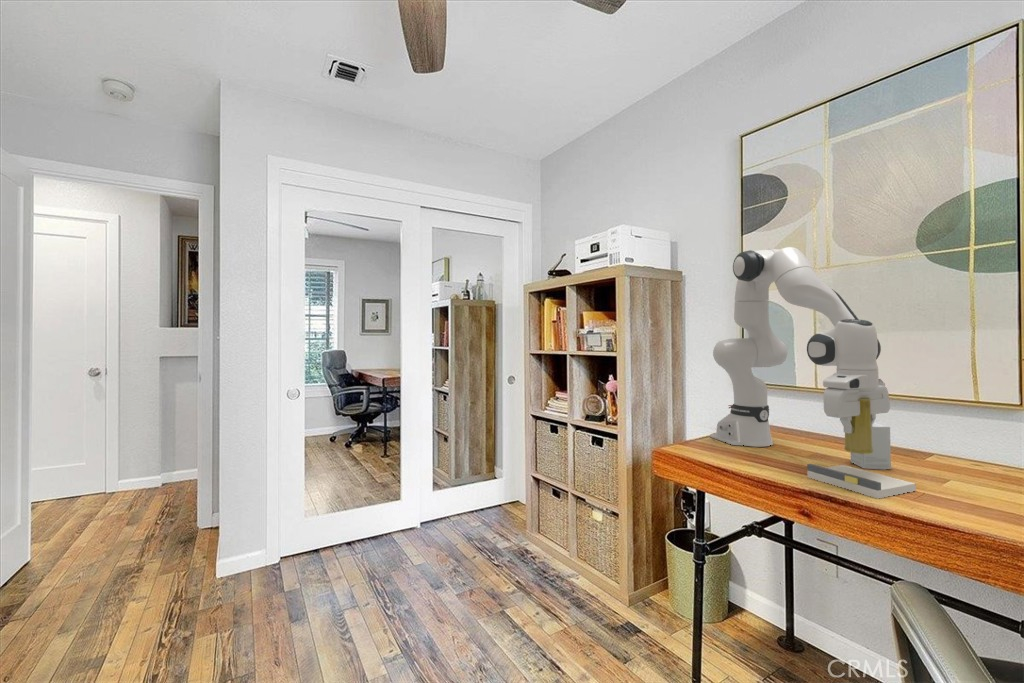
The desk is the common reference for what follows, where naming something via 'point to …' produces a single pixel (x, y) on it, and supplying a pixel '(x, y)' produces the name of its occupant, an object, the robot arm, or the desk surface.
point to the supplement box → (876, 450)
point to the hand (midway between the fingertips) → (858, 431)
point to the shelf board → (860, 480)
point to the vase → (860, 431)
